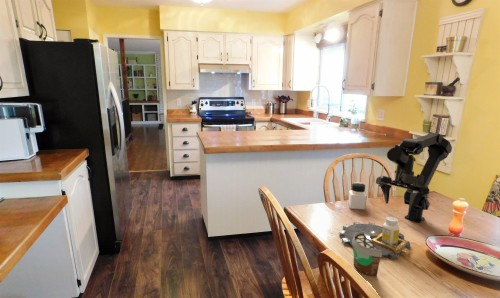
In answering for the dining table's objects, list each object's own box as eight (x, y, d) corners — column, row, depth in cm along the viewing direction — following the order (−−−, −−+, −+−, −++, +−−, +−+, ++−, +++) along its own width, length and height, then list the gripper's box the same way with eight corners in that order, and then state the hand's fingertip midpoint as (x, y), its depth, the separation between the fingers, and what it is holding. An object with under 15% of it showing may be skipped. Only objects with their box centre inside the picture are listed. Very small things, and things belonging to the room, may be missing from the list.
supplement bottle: (396, 241, 108) (399, 217, 106) (398, 248, 103) (401, 223, 101) (380, 238, 109) (383, 214, 107) (382, 245, 104) (384, 221, 102)
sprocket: (359, 219, 128) (360, 212, 127) (420, 242, 109) (422, 234, 109) (326, 238, 112) (327, 230, 111) (391, 269, 93) (392, 259, 93)
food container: (343, 257, 100) (346, 231, 98) (360, 256, 100) (363, 230, 98) (360, 280, 88) (363, 251, 86) (379, 279, 88) (382, 250, 86)
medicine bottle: (365, 209, 138) (367, 186, 136) (350, 208, 140) (352, 185, 137) (362, 204, 145) (365, 181, 142) (348, 202, 146) (350, 180, 144)
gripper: (390, 159, 108) (383, 199, 105) (440, 171, 106) (434, 212, 103) (378, 164, 119) (371, 200, 116) (423, 175, 117) (418, 212, 114)
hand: (398, 206), depth 112 cm, fingers open, 9 cm apart
